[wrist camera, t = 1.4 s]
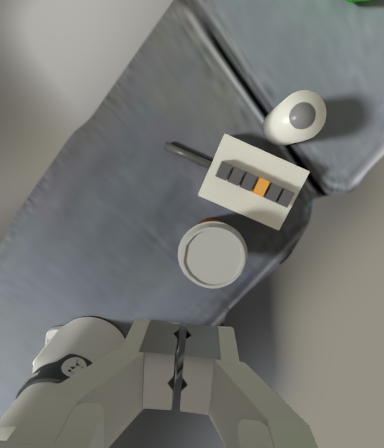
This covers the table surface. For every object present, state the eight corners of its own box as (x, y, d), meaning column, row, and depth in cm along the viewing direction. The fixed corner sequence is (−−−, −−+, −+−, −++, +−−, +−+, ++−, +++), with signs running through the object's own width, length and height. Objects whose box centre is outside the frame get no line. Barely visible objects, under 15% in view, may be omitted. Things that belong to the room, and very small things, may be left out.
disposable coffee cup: (207, 197, 45) (208, 208, 33) (249, 232, 46) (264, 254, 34) (173, 238, 47) (162, 262, 35) (214, 270, 48) (216, 304, 36)
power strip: (272, 225, 45) (282, 233, 39) (155, 174, 44) (147, 175, 38) (300, 171, 43) (315, 171, 37) (177, 116, 42) (173, 108, 36)
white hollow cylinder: (289, 152, 42) (312, 148, 33) (256, 137, 42) (270, 129, 33) (307, 116, 41) (336, 101, 32) (273, 100, 41) (292, 81, 32)
